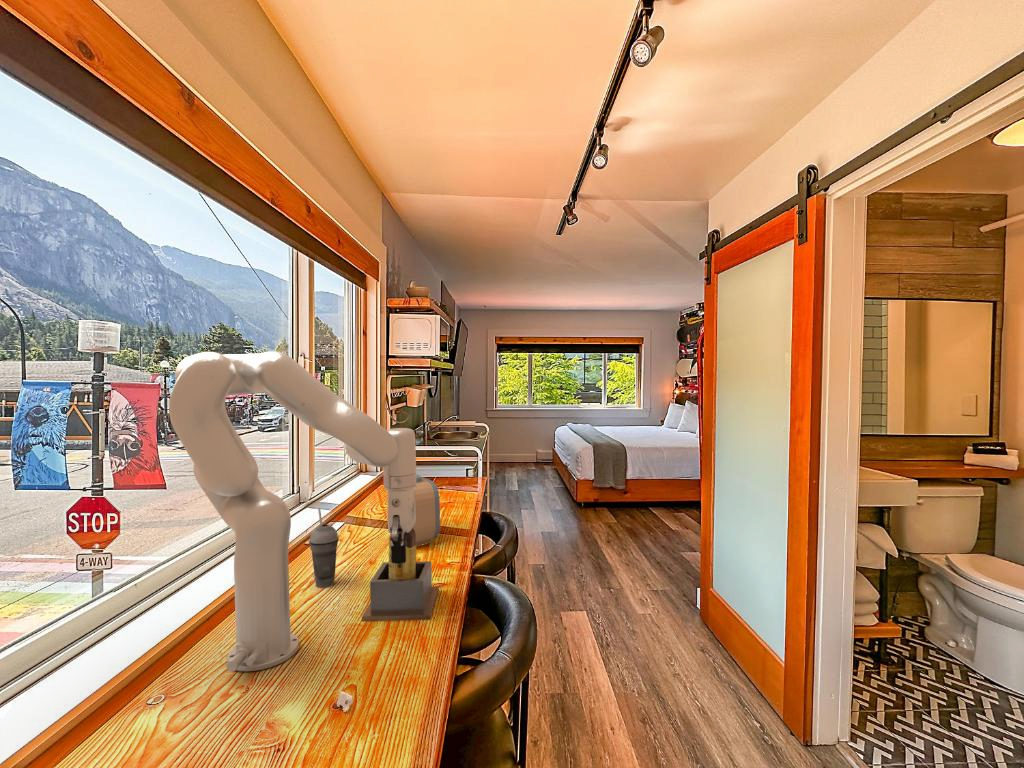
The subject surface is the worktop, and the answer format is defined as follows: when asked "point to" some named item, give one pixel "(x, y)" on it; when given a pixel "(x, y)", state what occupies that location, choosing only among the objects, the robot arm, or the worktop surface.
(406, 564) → the sauce bottle
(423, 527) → the alarm clock
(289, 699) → the worktop surface
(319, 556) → the beverage cup
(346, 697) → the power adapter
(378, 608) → the grey square open box
